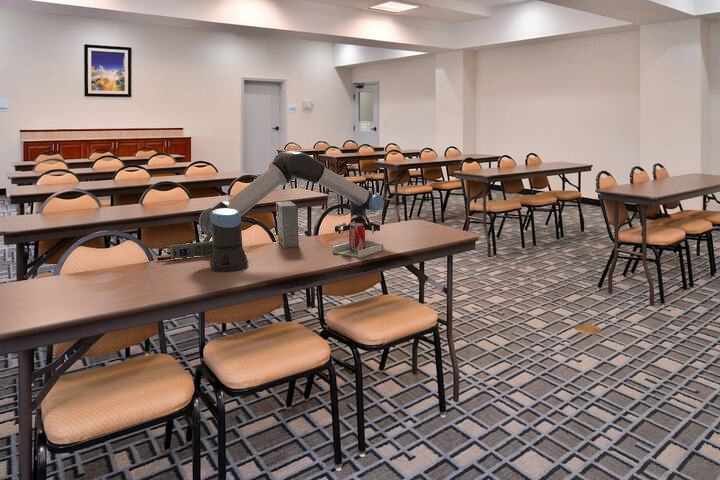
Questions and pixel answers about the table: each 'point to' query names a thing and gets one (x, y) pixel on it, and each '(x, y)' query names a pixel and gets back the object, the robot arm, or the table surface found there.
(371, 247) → the box
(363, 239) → the soda can
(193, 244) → the handheld radio
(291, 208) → the hard drive box
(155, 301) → the table surface
